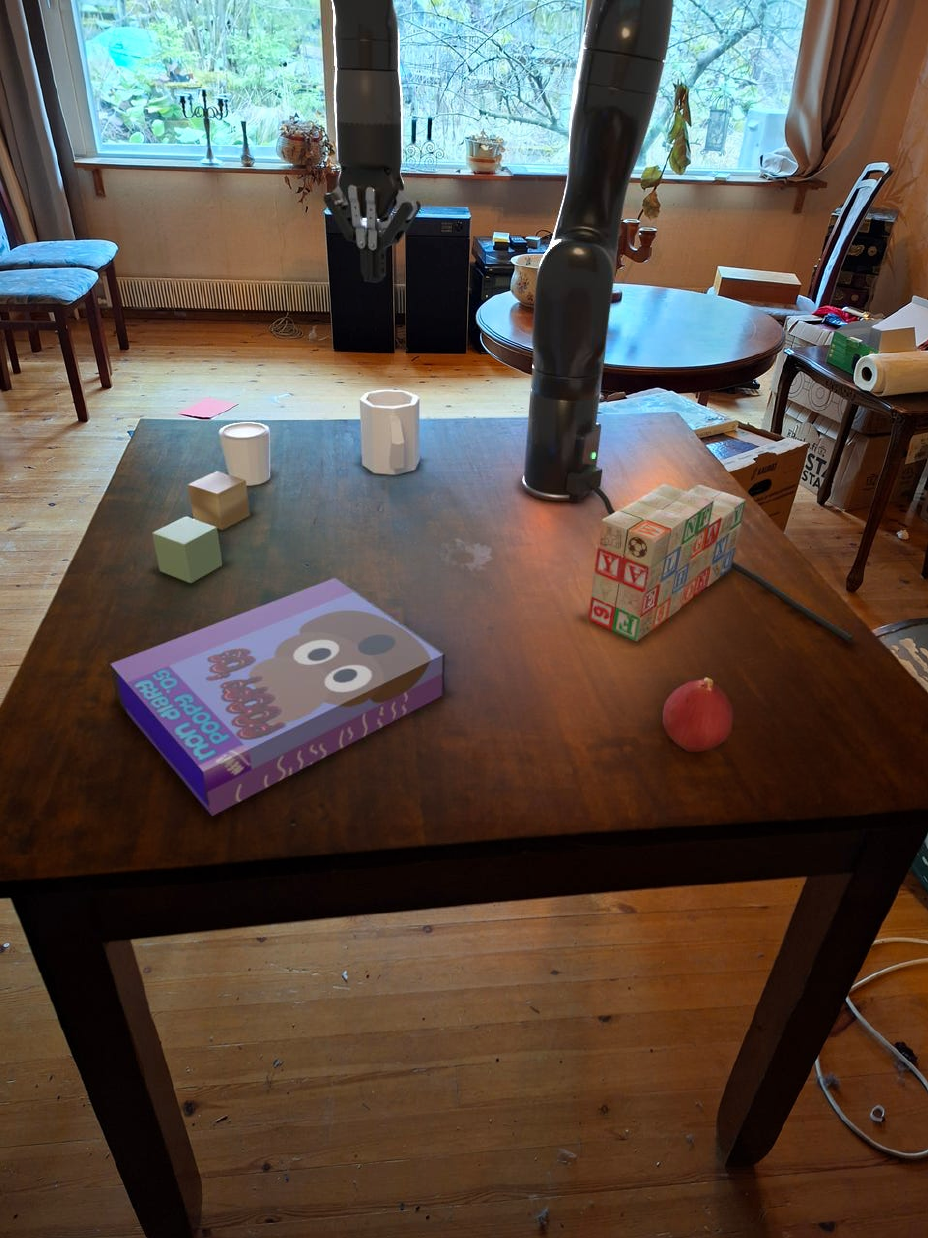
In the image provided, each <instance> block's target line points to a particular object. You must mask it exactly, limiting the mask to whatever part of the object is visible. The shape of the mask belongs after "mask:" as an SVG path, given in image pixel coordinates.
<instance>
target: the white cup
mask: <svg viewBox="0 0 928 1238" xmlns="http://www.w3.org/2000/svg"><path fill="white" fill-rule="evenodd" d="M218 436H219V440H220V445H221V449H222V452H223V456H224V457H223V458H224V461H225V465H226V471H227V474H228V475H231V476H234V477H237V478H240V479H244V480H246V487H247V486H256V485H261V484H264V483H265V482H267V481H268V480H270V478H271V429H270V428H269V426H268V425H266V424H263V423H260V422H254V421H243V422H242V421H241V422H236V423H235V422H234V423H231V424H227V425H225V426H223V427H222V428H220V429H219V431H218Z"/></svg>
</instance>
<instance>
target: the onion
mask: <svg viewBox="0 0 928 1238" xmlns="http://www.w3.org/2000/svg"><path fill="white" fill-rule="evenodd" d="M662 710H663V712H662V724H663V726H664V729H665V732H666V733H667V736H668V738H669V739H671V741H672V742H673V743H675V744H676V745H677V746H678V747H680V748H681V749H683V750H684V751H686V752H688V753H699V752H705V751H710V750H712V749H716V748H717V747H718V746H720V745H721V744H723V743H724V742H725V741H726V740H727V739H728V738H729V736H730V734H731V733H732V731H733V730H732V729H733V723H734V709H733V706H732V704H731V702H730V700H729V698H728V696H727V695H726V693H725V692H724V691H723V690H722V689H721V688H720V687H719V686H718V685H716V684H715V683H714V680H713V679H712V678H709V677H704V678H703V679H695V680H691V681H688V682H686V683H684V684H681V686H679V687H678V688H676V689H674V690H673V692H671V694H670V695H669V696H668V697H667V698H666V701H665V702H664V706H663V709H662Z"/></svg>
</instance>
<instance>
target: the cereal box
mask: <svg viewBox="0 0 928 1238" xmlns="http://www.w3.org/2000/svg"><path fill="white" fill-rule="evenodd" d="M109 665H110V672H111V677H112V678H111V679H112V684H113V689H114V691H115V695H116V697H117V699H118V701H119V704H120V706H121V708H122V709H123V710H124V711H125V713H126V714H127V715H128V716H129V717H130V718H131V720H132V721H133V723H135V725H136V726H137V727H138V728H139V729H140V731H141V732H142V733H143V735H145V737H146V738H147V739H148V741H150V743H151V744H152V745H153V746H154V748H155V749H156V750H157V751H158V752H159V754H160V755H161V756H162V757H163V759H164V760H165V761H166V762H167V763H168V765H169V766H170V768H172V769H173V770H174V772H175V773H176V775H178V776H179V778H180V779H181V781H182V782H183V783H184V784H185V785H186V786H187V788H188V789H189V790H190V791H191V793H192V794H193V795H194V796H195V798H197V800H198V801H199V802H200V803H201V804H202V806H203V807H204V808H205V809H206V811H207V812H208V813H209V814H210V815H211V817H213V816H215V815H217V814H219V813H221V812H223V811H225V810H227V809H229V808H231V807H233V806H234V805H236V804H238V803H240V802H242V801H244V800H246V799H248V798H250V797H251V796H253V795H256V794H257V793H259V792H261V791H263V790H265V789H267V788H268V787H271V786H272V785H274V784H276V783H278V782H280V781H282V780H283V779H286V778H287V777H289V776H292V775H293V774H295V773H298V772H299V771H301V770H302V769H305V768H307V767H308V766H310V765H313V764H314V763H316V762H318V761H321V760H323V759H324V758H326V757H328V756H330V755H331V754H334V753H335V752H338V751H339V750H341V749H343V748H345V747H348V746H350V745H351V744H352V743H354V742H357V741H358V740H360V739H363V738H364V737H366V736H368V735H370V734H372V733H373V732H376V731H378V730H380V729H381V728H383V727H385V726H387V725H389V724H391V723H393V722H394V721H396V720H398V719H400V718H402V717H404V716H406V715H408V714H410V713H411V712H414V711H415V710H417V709H419V708H422V707H423V706H425V705H427V704H429V703H431V702H433V701H434V700H436V699H438V698H440V697H442V696H444V695H445V693H444V691H445V653H444V652H443V651H441V650H440V649H438V648H437V647H435V646H434V645H433V644H431V643H430V642H428V641H427V640H425V639H424V638H423V637H421V636H420V635H419V634H417V633H416V632H414V631H413V630H411V629H410V628H409V627H407V626H406V625H405V624H403V623H402V622H400V621H399V620H397V619H396V618H395V617H393V616H392V615H390V614H388V613H387V612H386V611H384V610H383V609H382V608H380V607H379V606H377V604H375V603H374V602H371V600H369V599H367V598H366V597H364V596H363V595H362V594H360V593H359V592H358V591H356V590H355V589H353V588H352V587H351V586H349V585H348V584H346V583H345V582H343V581H342V580H341V579H339V578H338V577H333V578H331V579H328V580H326V581H323V582H321V583H317V584H315V585H313V586H310V587H307V588H305V589H303V590H300V591H297V592H294V593H292V594H289V595H286V596H284V597H281V598H279V599H276V600H273V601H271V602H268V603H265V604H263V605H261V606H258V607H255V608H253V609H250V610H247V611H245V612H242V613H240V614H237V615H234V616H232V617H229V618H227V619H224V620H221V621H218V622H216V623H214V624H211V625H208V626H206V627H203V628H200V629H198V630H195V631H193V632H190V633H187V634H185V635H182V636H179V637H176V638H174V639H171V640H169V641H166V642H164V643H162V644H159V645H155V646H153V647H151V648H149V649H145V650H143V651H140V652H138V653H135V654H131V655H130V656H128V657H127V656H126V657H125V658H121V659H120V660H117V661H114V662H112V663H111V662H110V664H109Z"/></svg>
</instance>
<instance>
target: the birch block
mask: <svg viewBox="0 0 928 1238" xmlns="http://www.w3.org/2000/svg"><path fill="white" fill-rule="evenodd" d="M187 487H188V493H189V499H190V505H191V511H192V516H193V518H192V519H194V520H197V521H200V522H203V523H206V524H209V525H211V526H214V527H217V530H221V531H224V530H225V529H228V528H230V527H231V526H234V525H235V524H238V523H239V522H241V521H242V520H245V519H246V518H248V517H250V516H251V511H250V503H249V495H248V487H247V486H246V480H244V479H240V478H237V477H234V476H231V475H229V474H228V473H224V472H222V471H218V470H216V471H214V472H211V473H210V474H208V475H205V476H203V477H201V478H199V479H196V480H194V481H191V482H190V483H188V484H187Z"/></svg>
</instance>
